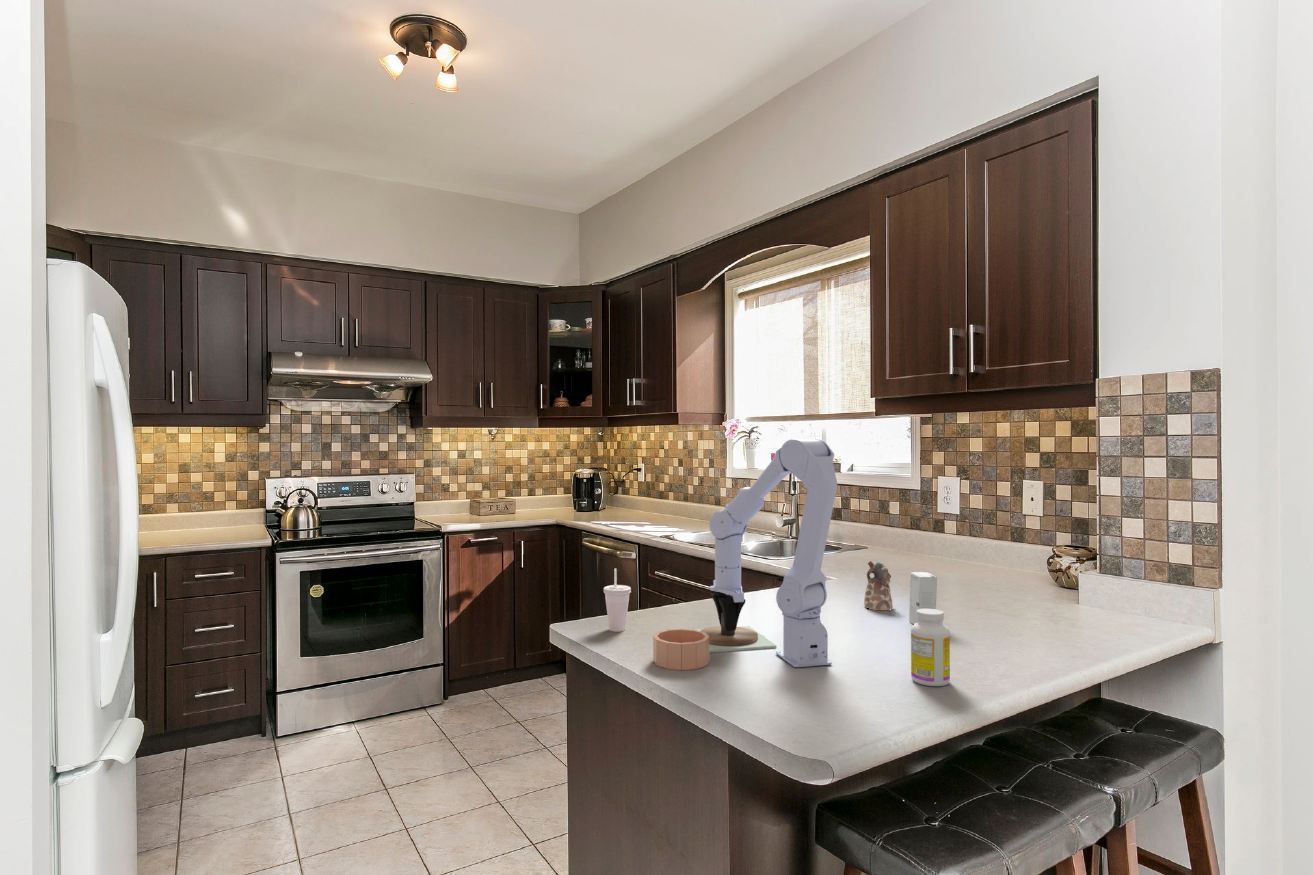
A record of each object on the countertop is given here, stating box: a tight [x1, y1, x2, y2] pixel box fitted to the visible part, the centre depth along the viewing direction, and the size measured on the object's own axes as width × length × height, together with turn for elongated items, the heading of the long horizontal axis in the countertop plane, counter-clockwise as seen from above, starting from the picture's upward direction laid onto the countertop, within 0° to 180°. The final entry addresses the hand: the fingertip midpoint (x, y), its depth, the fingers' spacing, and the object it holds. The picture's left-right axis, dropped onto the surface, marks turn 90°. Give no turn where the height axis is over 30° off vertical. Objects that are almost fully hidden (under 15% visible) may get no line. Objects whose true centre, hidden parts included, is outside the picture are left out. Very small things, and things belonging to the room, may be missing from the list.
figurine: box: [863, 560, 894, 611], centre depth 189 cm, size 7×7×12 cm
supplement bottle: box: [910, 608, 951, 687], centre depth 133 cm, size 7×7×13 cm
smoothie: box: [603, 568, 632, 633], centre depth 168 cm, size 6×6×14 cm
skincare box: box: [908, 571, 938, 625], centre depth 172 cm, size 6×4×12 cm
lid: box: [701, 612, 758, 646], centre depth 160 cm, size 13×13×5 cm
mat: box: [695, 625, 777, 654], centre depth 160 cm, size 16×16×1 cm
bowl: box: [652, 628, 710, 671], centre depth 145 cm, size 11×11×5 cm
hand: (727, 627), depth 160 cm, fingers closed on lid, 3 cm apart
